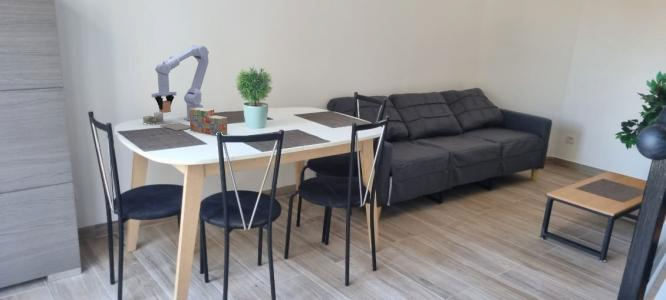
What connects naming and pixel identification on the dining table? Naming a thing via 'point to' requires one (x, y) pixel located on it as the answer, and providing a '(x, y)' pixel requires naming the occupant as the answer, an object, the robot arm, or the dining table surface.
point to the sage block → (149, 119)
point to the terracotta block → (165, 107)
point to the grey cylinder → (159, 116)
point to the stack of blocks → (207, 121)
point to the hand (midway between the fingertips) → (164, 109)
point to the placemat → (177, 126)
